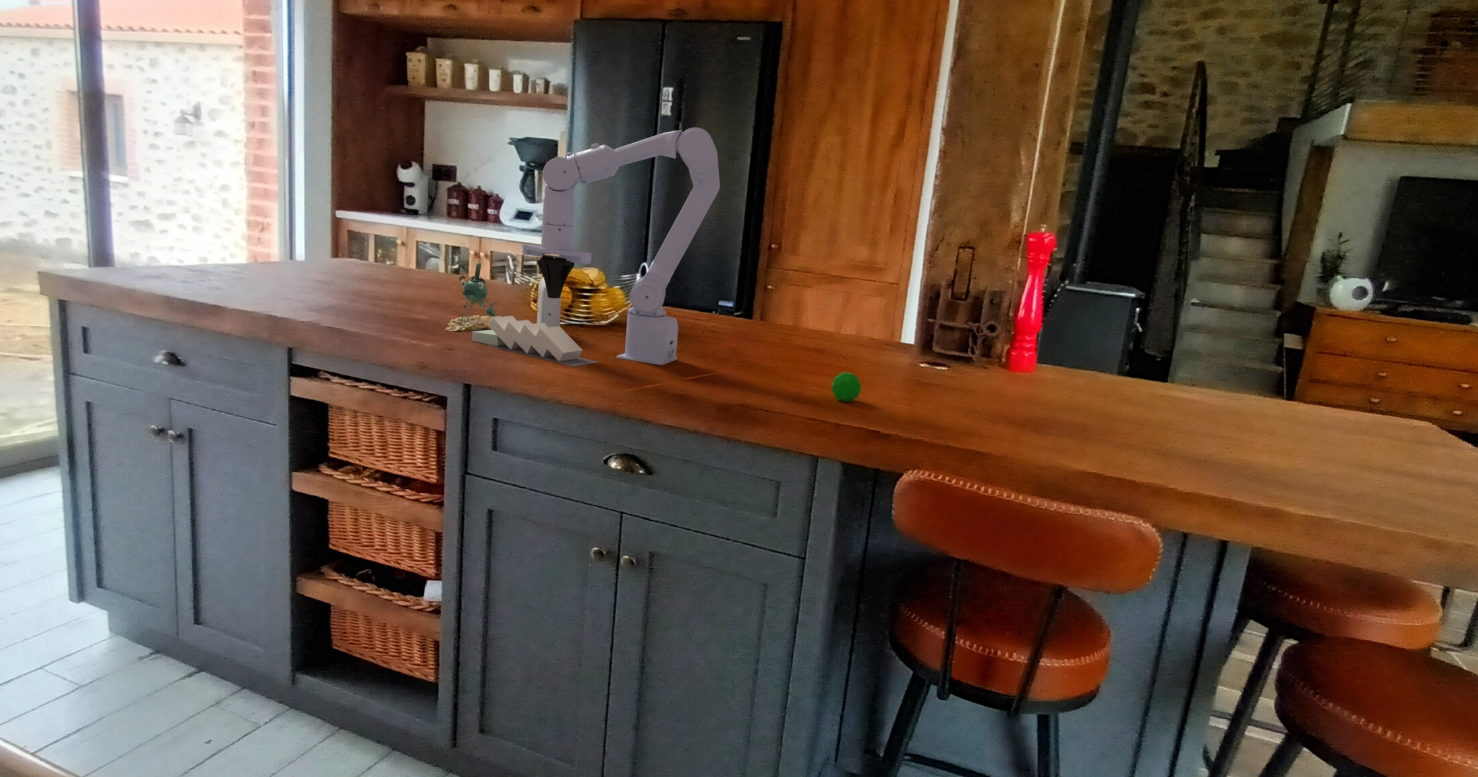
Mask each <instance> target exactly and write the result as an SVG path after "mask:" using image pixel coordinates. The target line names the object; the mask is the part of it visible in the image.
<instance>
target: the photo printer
mask: <svg viewBox="0 0 1478 777" xmlns="http://www.w3.org/2000/svg"><path fill="white" fill-rule="evenodd" d="M537 296H538V297H537V317H536V323H545V324H546V325H547V326H548V327H557V326H560V325H561V324H560V323H561V322H560V321H561V307H562V306H561V304H562V295H561V296H560V298H555V299H553V298H548V295H547V289H546V285H545V281H544V277H542V279H540V281H539V283H538V293H537ZM560 327H561V326H560Z"/></svg>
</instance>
